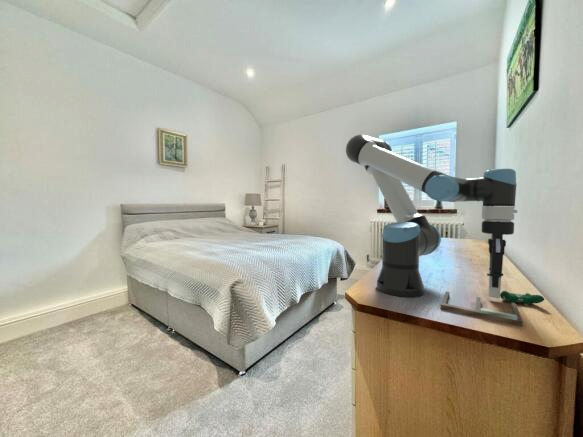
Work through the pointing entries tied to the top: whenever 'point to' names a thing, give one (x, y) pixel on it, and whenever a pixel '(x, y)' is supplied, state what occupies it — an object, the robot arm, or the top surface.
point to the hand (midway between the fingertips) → (494, 296)
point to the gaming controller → (521, 298)
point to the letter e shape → (485, 312)
